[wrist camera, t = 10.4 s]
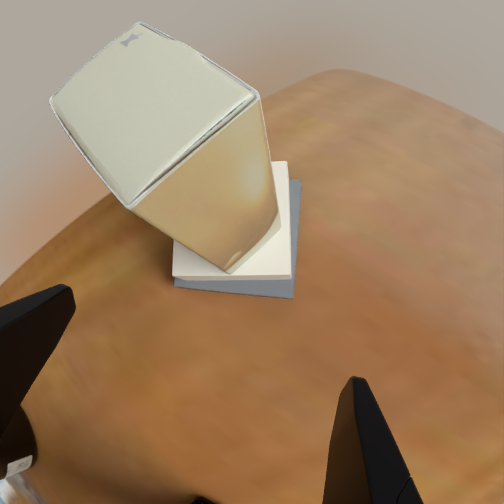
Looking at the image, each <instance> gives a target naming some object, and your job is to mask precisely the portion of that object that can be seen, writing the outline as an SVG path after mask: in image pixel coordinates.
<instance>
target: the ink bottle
mask: <svg viewBox="0 0 504 504" xmlns="http://www.w3.org/2000/svg"><path fill="white" fill-rule="evenodd" d="M36 460H37V447H36V441H35V437H34V434H33V431H32V428H31V426H30V423H29V421H28V419H27V417H26V415H25V413H24V412H23V410H22V409H21V408H20V406H19V407H18V409H17V411H16V413H15V414H14V416H13V418H12V420H11V422H10V423H9V425H8V427H7V429H6V431H5V433H4V434H3V437H2V438H1V440H0V480H2V479H4V478H7V477H10V476H12V475H15V474H17V473H20V472H22V471H25V470H27V469H29V468H31V467H33V466H34V464H35V463H36Z"/></svg>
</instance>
